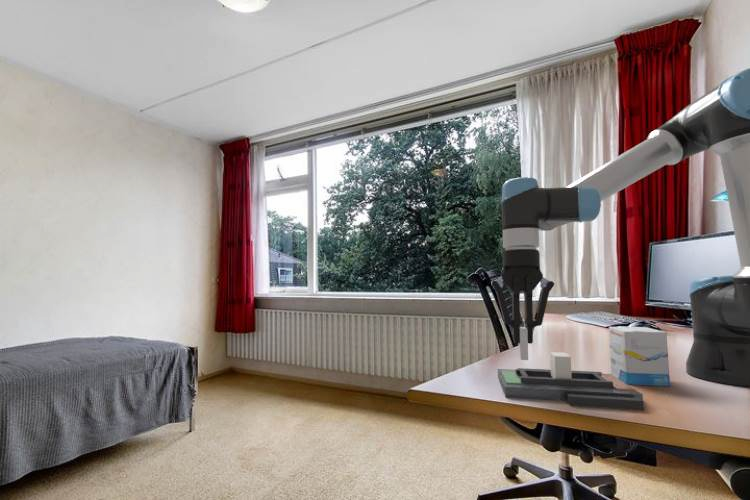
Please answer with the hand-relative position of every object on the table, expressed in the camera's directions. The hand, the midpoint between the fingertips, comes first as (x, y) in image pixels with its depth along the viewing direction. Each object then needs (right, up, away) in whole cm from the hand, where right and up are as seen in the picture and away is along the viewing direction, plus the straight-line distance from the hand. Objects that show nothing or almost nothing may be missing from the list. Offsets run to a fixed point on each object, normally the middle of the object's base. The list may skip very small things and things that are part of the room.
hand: (523, 358), depth 78 cm
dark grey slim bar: (+11, -7, +7) cm, 15 cm away
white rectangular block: (+7, -4, -2) cm, 8 cm away
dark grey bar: (+10, -5, -12) cm, 16 cm away
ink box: (+28, -7, +4) cm, 29 cm away
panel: (+7, -6, -2) cm, 10 cm away
